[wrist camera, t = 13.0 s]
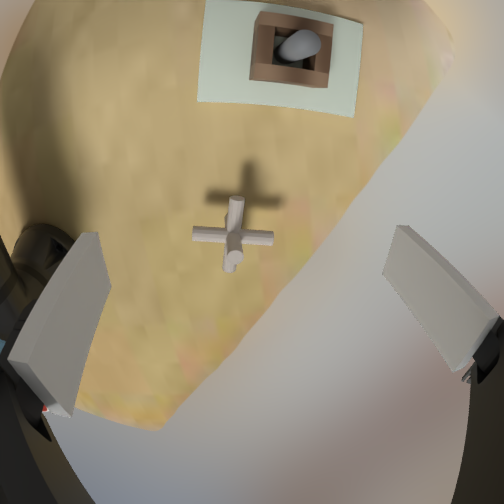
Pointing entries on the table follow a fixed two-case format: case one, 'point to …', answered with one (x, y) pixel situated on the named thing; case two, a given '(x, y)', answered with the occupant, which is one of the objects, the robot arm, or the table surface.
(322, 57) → the collar
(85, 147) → the table surface
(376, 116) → the table surface
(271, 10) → the post stand
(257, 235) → the pipe connector
